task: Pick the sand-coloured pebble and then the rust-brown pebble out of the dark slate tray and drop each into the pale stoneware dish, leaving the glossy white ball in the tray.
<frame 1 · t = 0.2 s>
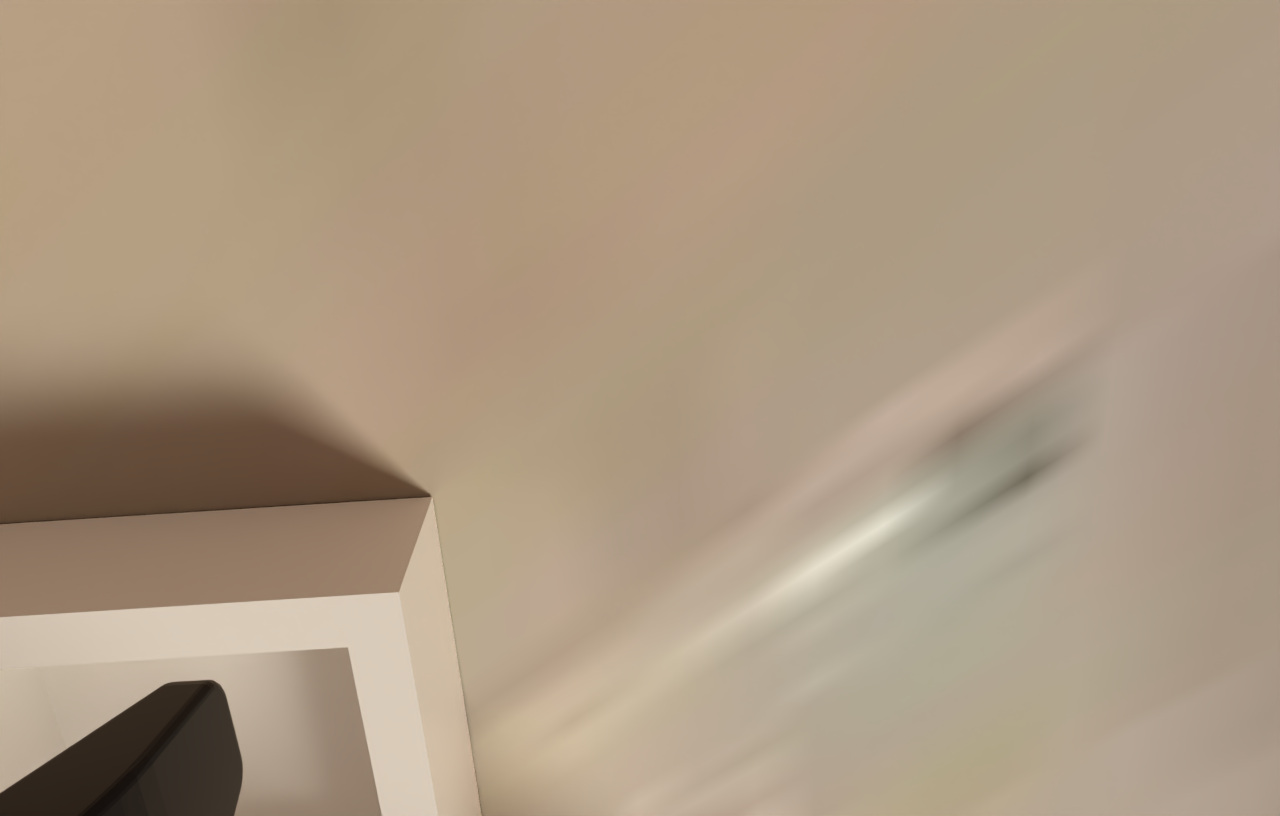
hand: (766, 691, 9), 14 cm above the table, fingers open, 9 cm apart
stoneware dish: (243, 705, 26), on the table
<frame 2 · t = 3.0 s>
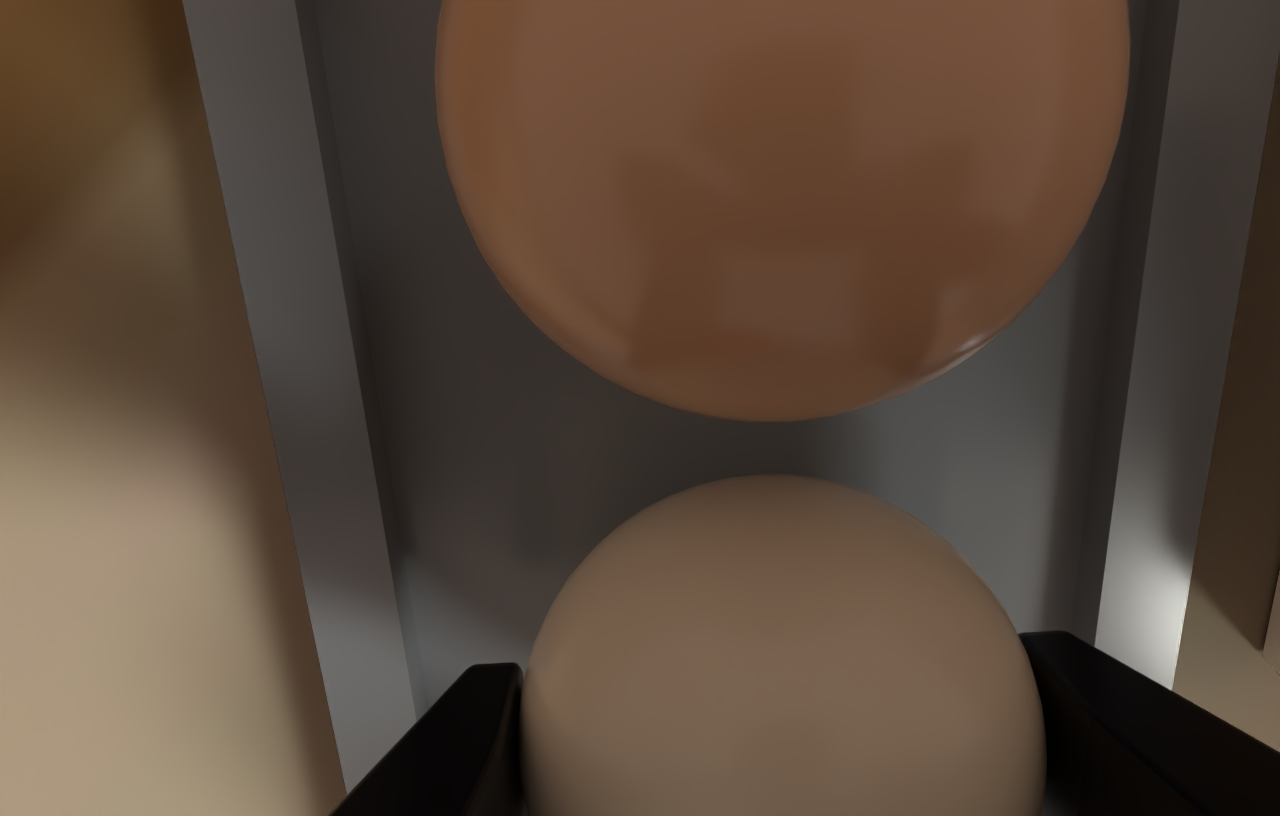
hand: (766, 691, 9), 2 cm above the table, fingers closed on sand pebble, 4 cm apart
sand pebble: (745, 590, 10), resting on slate tray, touching gripper
slate tray: (739, 563, 11), on the table
rust-brown pebble: (734, 67, 8), resting on slate tray
when the fingers open (5 cm above the table, at t = 5.5 s): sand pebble drops 3 cm, resting on stoneware dish.
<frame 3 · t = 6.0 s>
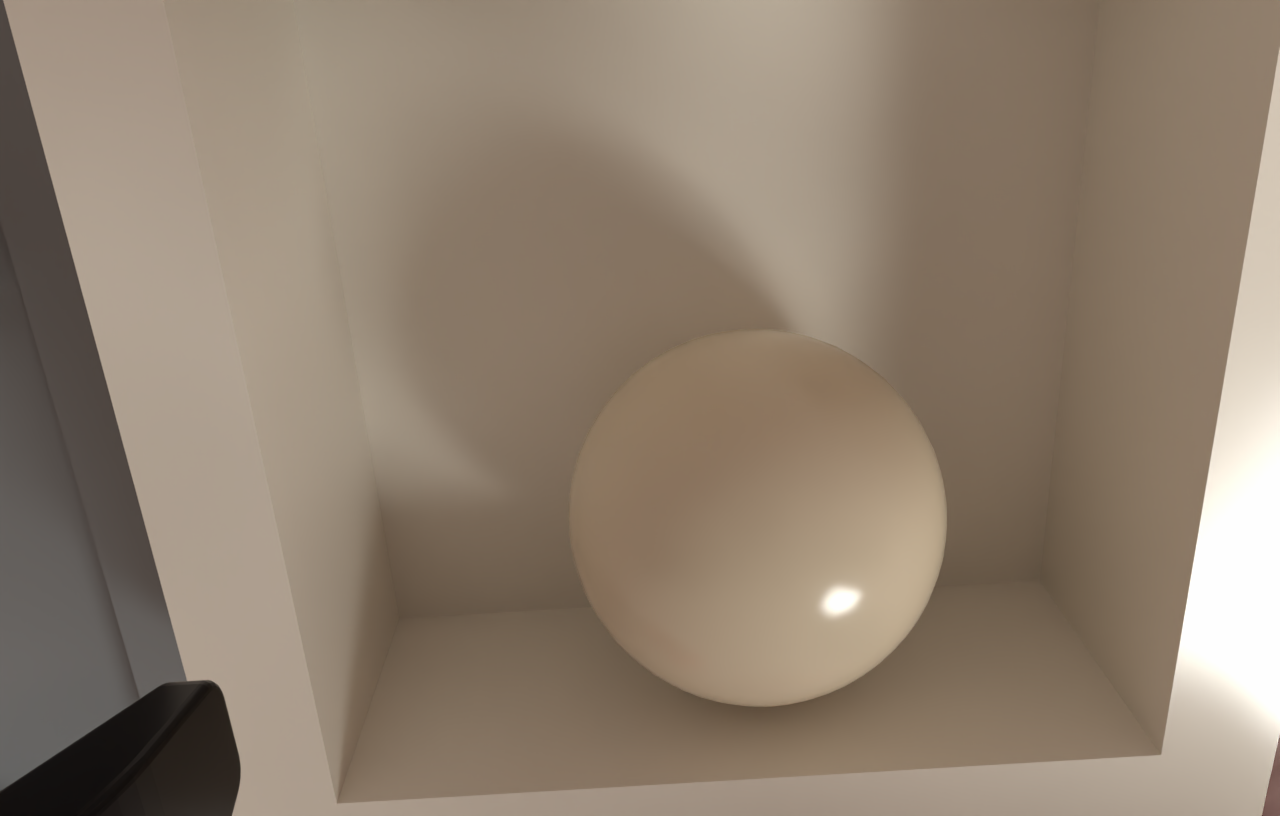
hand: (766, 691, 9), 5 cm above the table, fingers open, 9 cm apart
stoneware dish: (705, 276, 13), on the table
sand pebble: (711, 440, 13), point 1 cm above the table, tilted 9°, touching stoneware dish
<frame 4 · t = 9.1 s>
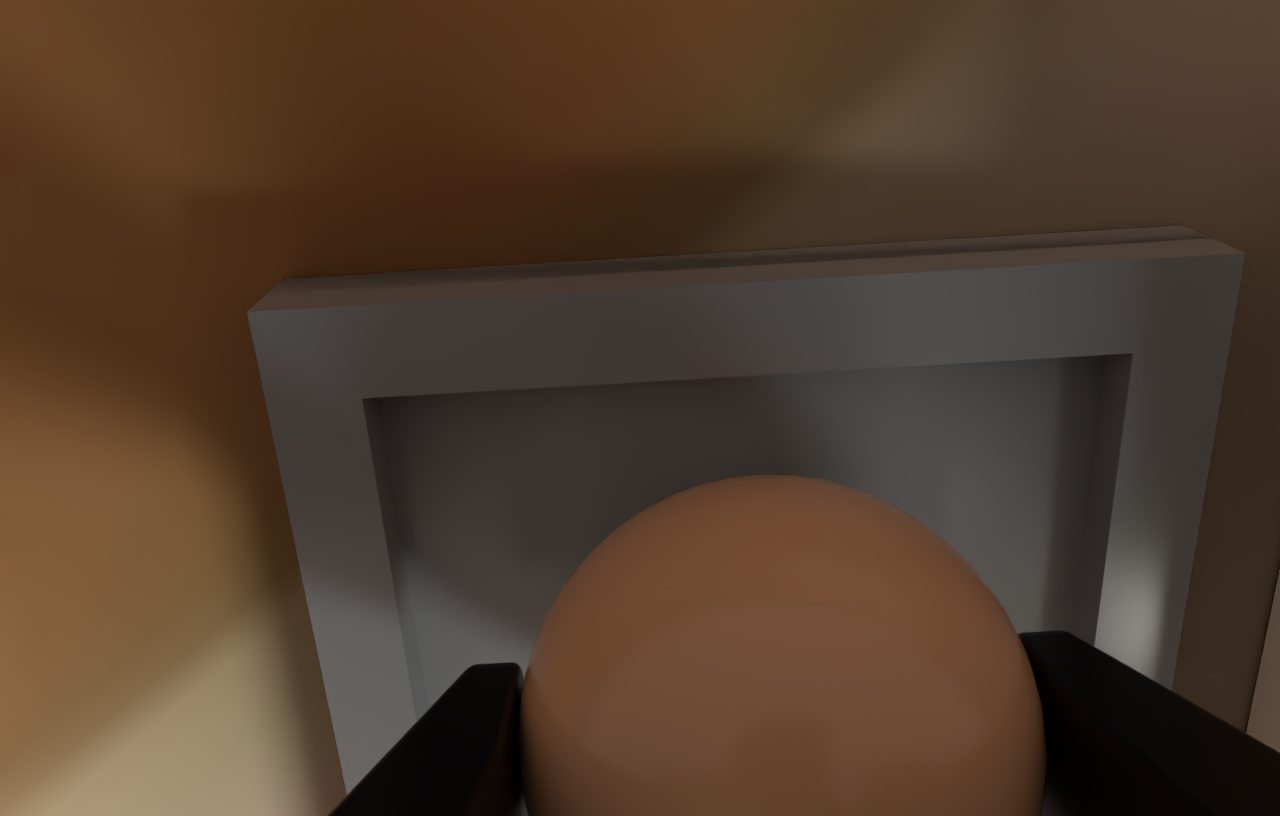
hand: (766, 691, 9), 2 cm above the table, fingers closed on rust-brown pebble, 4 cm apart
rust-brown pebble: (745, 590, 10), resting on slate tray, touching gripper
when the fingers open (5 cm above the table, at t = 11.5 s): rust-brown pebble drops 3 cm and tips over, resting on stoneware dish.
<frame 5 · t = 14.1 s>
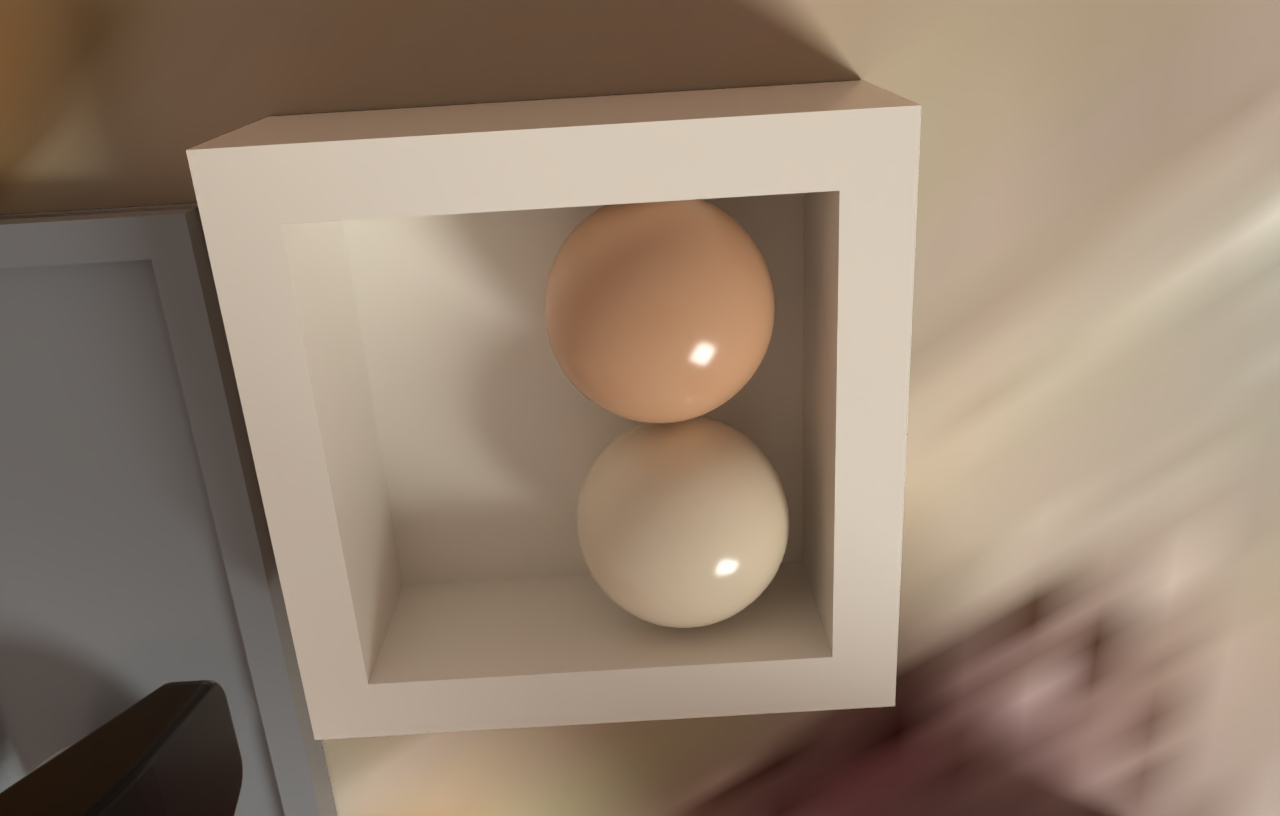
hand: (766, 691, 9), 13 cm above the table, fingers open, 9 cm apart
stoneware dish: (588, 376, 21), on the table
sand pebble: (602, 491, 21), point 1 cm above the table, tilted 50°, touching stoneware dish
slate tray: (101, 577, 23), on the table
rust-brown pebble: (583, 294, 20), point 1 cm above the table, tilted 43°, touching stoneware dish
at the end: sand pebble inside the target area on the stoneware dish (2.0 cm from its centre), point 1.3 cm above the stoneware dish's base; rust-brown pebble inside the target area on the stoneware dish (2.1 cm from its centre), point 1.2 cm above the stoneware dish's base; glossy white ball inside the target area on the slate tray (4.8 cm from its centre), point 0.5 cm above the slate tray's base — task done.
